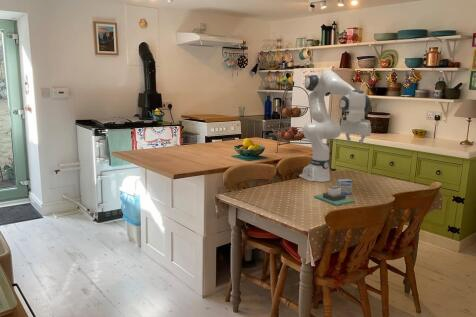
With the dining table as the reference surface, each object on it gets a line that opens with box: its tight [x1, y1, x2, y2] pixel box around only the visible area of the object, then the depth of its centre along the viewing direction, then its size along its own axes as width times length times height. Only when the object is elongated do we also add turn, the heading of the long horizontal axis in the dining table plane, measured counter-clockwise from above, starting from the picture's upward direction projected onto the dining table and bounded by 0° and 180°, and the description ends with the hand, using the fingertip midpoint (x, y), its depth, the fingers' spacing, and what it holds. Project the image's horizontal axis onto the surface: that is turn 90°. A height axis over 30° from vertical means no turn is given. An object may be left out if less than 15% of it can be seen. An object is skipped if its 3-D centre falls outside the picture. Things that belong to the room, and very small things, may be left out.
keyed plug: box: [327, 184, 341, 196], centre depth 221 cm, size 4×6×7 cm, turn 121°
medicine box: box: [336, 178, 353, 196], centre depth 233 cm, size 8×4×9 cm, turn 101°
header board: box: [313, 191, 356, 207], centre depth 221 cm, size 18×14×4 cm
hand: (354, 142), depth 229 cm, fingers open, 8 cm apart
